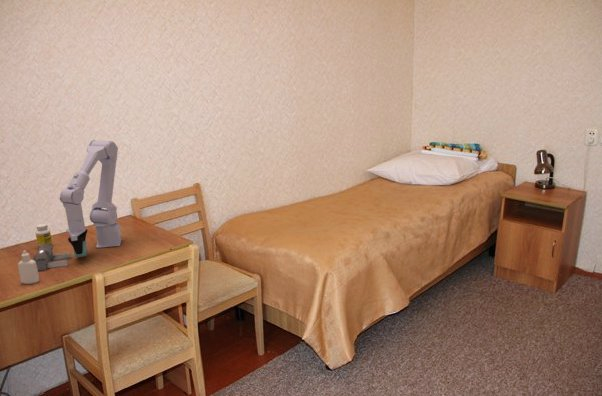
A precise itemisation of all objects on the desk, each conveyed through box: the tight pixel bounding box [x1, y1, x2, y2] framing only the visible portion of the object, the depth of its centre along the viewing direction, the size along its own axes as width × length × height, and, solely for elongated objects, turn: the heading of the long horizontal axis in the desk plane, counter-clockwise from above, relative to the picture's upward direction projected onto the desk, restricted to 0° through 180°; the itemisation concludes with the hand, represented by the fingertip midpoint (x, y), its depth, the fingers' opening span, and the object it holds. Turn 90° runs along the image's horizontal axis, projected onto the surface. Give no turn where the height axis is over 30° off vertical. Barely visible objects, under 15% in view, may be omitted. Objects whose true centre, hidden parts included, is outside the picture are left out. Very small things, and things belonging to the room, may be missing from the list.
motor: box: [32, 244, 73, 272], centre depth 180 cm, size 11×12×6 cm
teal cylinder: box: [72, 240, 89, 258], centre depth 184 cm, size 5×5×6 cm
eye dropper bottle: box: [17, 250, 40, 285], centre depth 164 cm, size 4×6×12 cm
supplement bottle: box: [35, 223, 53, 250], centre depth 195 cm, size 5×5×10 cm
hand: (80, 251), depth 184 cm, fingers closed on teal cylinder, 5 cm apart
